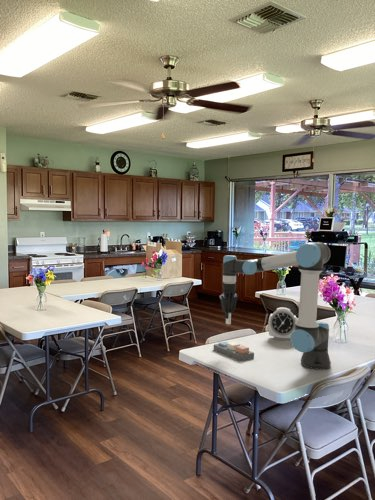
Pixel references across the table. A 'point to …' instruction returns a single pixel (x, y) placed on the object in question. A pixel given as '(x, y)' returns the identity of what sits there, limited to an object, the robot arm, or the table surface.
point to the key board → (233, 353)
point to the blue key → (223, 344)
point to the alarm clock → (282, 324)
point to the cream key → (232, 346)
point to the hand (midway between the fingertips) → (228, 323)
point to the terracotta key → (242, 349)
